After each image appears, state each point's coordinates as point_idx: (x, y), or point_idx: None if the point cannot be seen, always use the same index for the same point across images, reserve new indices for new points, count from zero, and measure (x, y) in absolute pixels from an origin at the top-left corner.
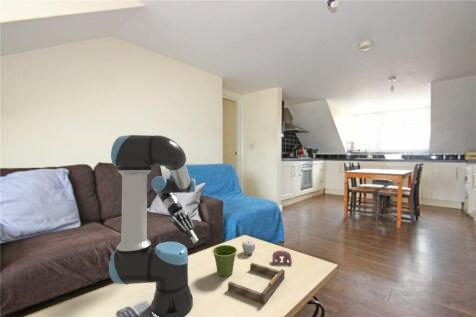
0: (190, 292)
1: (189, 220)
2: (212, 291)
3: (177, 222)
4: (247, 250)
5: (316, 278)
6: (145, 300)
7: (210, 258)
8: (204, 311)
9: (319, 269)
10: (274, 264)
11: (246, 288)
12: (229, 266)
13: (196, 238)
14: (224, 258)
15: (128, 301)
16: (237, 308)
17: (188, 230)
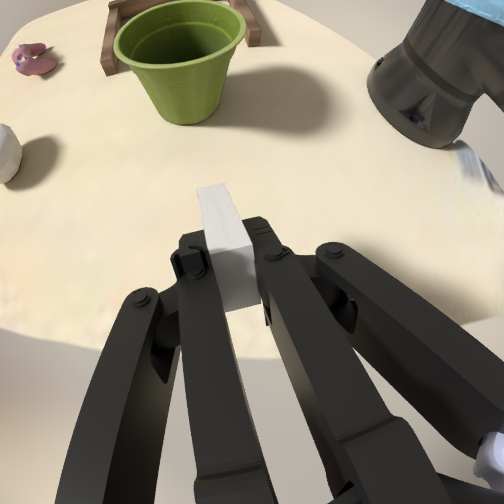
0: (380, 65)
1: (127, 428)
2: (298, 67)
3: (482, 348)
4: (18, 141)
5: (83, 5)
6: (463, 177)
7: (131, 244)
8: (354, 46)
9: (45, 22)
10: (54, 66)
11: (240, 3)
12: (197, 47)
13: (211, 194)
14: (222, 17)
15: (491, 209)
16: (288, 13)
17: (276, 247)
